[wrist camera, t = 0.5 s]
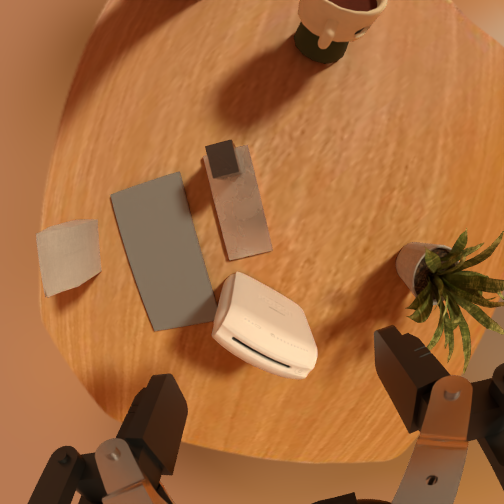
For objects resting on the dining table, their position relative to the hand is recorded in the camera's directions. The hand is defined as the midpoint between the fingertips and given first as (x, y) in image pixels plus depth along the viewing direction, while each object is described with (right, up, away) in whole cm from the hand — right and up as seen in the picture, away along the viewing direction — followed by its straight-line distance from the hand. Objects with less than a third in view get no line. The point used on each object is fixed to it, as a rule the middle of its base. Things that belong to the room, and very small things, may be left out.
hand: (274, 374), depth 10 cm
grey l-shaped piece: (-2, +10, +22) cm, 24 cm away
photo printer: (0, -1, +25) cm, 25 cm away
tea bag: (-22, +6, +23) cm, 33 cm away
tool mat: (-11, +4, +23) cm, 26 cm away
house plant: (+19, +2, +24) cm, 30 cm away
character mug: (+7, +29, +17) cm, 35 cm away
